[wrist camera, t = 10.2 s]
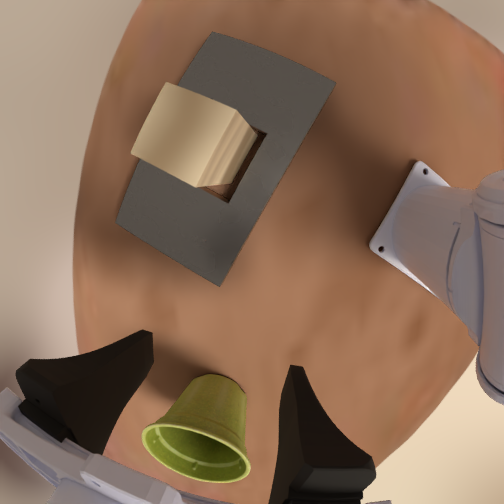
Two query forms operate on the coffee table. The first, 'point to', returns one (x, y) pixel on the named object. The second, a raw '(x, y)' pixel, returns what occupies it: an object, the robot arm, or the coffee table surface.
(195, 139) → the birch peg
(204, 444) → the plant pot
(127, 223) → the slotted plate
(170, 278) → the coffee table surface
